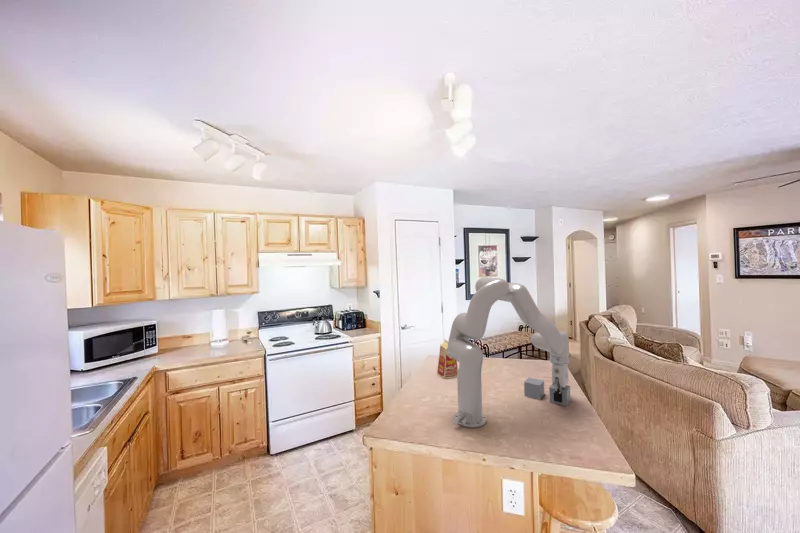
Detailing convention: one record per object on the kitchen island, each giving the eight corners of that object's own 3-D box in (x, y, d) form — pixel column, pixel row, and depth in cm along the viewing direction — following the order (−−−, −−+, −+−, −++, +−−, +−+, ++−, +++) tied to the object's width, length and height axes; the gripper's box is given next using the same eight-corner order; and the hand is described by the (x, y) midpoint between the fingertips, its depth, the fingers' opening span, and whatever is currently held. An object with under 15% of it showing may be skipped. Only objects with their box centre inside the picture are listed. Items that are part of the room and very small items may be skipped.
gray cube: (540, 399, 145) (539, 385, 145) (524, 395, 150) (524, 382, 150) (544, 394, 151) (544, 380, 151) (529, 390, 155) (528, 377, 155)
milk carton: (436, 374, 181) (435, 339, 180) (450, 371, 184) (449, 337, 184) (445, 379, 172) (444, 342, 172) (459, 376, 176) (458, 340, 176)
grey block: (566, 406, 138) (566, 391, 138) (549, 401, 143) (549, 387, 143) (570, 400, 144) (570, 385, 144) (553, 396, 148) (553, 382, 148)
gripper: (564, 366, 134) (564, 408, 134) (572, 355, 147) (573, 393, 148) (545, 363, 138) (545, 403, 139) (555, 352, 152) (555, 389, 152)
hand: (560, 398), depth 143 cm, fingers closed on grey block, 7 cm apart
